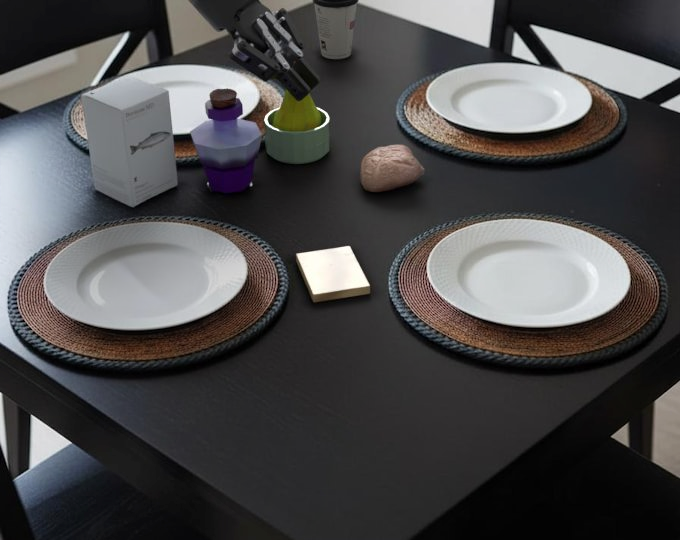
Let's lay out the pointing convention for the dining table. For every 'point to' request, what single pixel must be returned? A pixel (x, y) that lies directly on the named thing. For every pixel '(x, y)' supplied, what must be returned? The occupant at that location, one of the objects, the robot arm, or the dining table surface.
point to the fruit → (297, 114)
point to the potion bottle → (227, 144)
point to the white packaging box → (130, 140)
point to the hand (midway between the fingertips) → (310, 90)
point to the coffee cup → (335, 26)
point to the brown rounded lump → (389, 168)
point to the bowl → (297, 141)
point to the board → (332, 274)
